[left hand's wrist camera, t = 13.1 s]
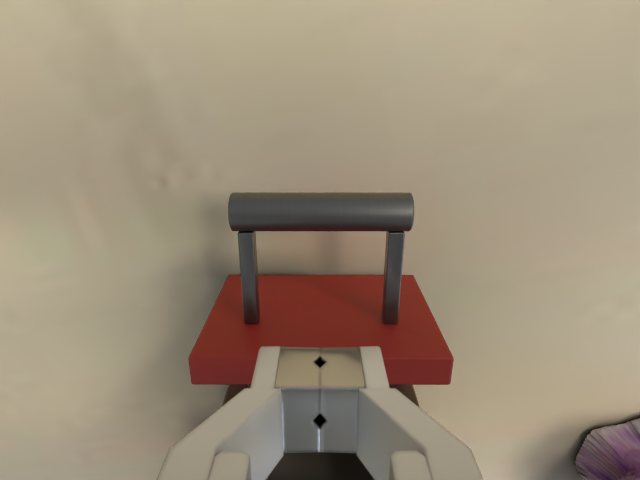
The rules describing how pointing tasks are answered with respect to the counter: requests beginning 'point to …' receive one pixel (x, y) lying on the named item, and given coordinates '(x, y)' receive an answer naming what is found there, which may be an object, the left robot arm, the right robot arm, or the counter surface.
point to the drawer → (321, 309)
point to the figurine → (611, 453)
